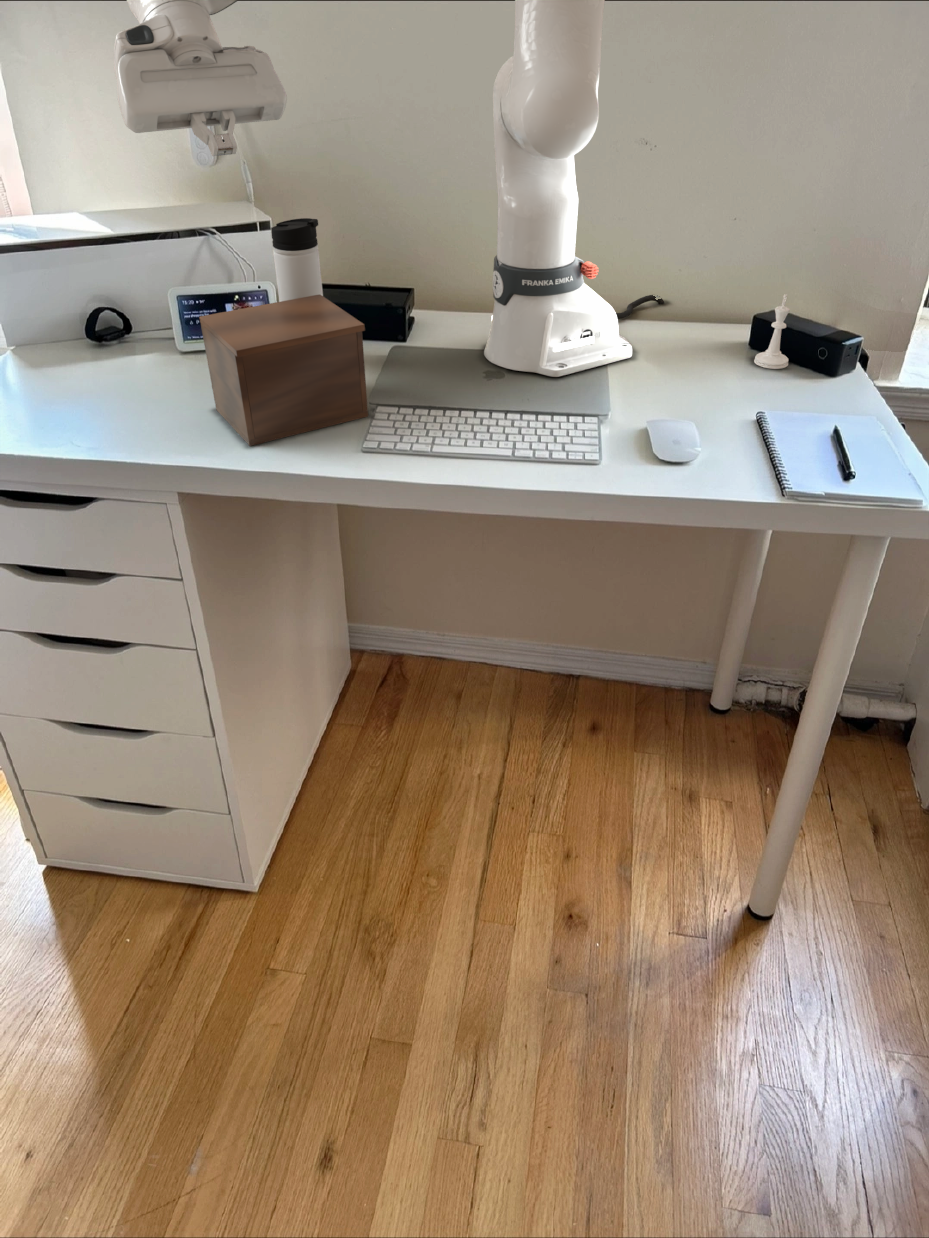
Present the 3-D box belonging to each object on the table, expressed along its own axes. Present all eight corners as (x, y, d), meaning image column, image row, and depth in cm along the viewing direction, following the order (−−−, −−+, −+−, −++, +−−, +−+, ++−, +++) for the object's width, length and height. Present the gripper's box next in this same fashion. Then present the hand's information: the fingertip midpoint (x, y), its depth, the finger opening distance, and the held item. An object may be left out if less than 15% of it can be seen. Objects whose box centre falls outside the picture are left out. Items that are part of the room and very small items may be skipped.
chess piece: (751, 366, 133) (765, 298, 127) (756, 354, 137) (769, 287, 130) (786, 371, 131) (801, 302, 125) (789, 359, 135) (805, 292, 129)
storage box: (368, 416, 120) (362, 328, 112) (249, 446, 113) (234, 355, 105) (328, 384, 128) (320, 300, 121) (216, 410, 121) (200, 323, 114)
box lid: (364, 330, 112) (364, 324, 111) (237, 357, 105) (236, 350, 104) (320, 300, 121) (319, 294, 120) (200, 322, 114) (199, 316, 113)
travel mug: (323, 370, 132) (309, 226, 120) (280, 367, 133) (262, 224, 121) (336, 355, 137) (324, 215, 124) (295, 351, 138) (279, 212, 125)
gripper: (260, 64, 118) (298, 160, 117) (101, 75, 109) (141, 178, 109) (268, 26, 112) (308, 126, 111) (101, 34, 104) (144, 143, 103)
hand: (225, 152), depth 110 cm, fingers closed
